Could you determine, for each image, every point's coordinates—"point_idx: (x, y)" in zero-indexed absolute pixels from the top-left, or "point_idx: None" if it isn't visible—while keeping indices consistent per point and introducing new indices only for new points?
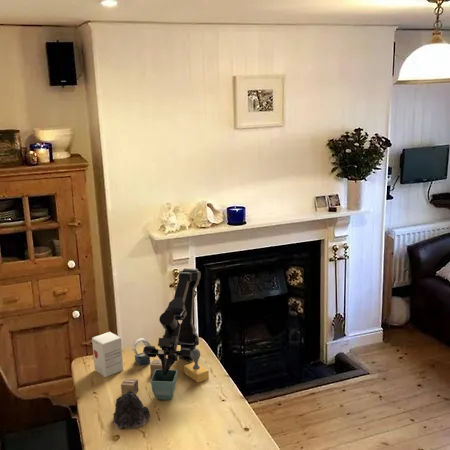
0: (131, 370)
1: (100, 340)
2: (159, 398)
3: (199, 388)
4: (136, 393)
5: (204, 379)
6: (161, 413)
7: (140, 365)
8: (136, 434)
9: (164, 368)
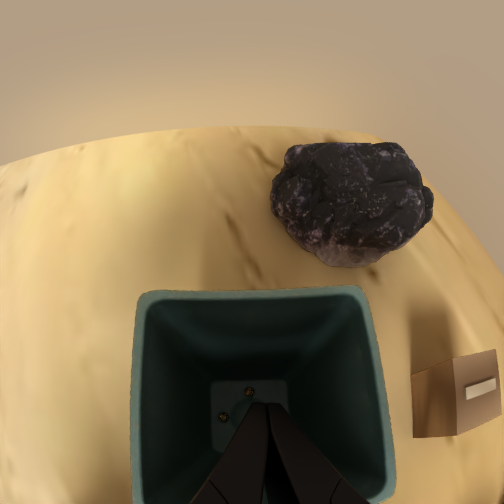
0: None
1: None
2: (275, 371)
3: (75, 485)
4: (413, 407)
5: None
6: (230, 258)
7: None
8: (284, 154)
9: (276, 443)
